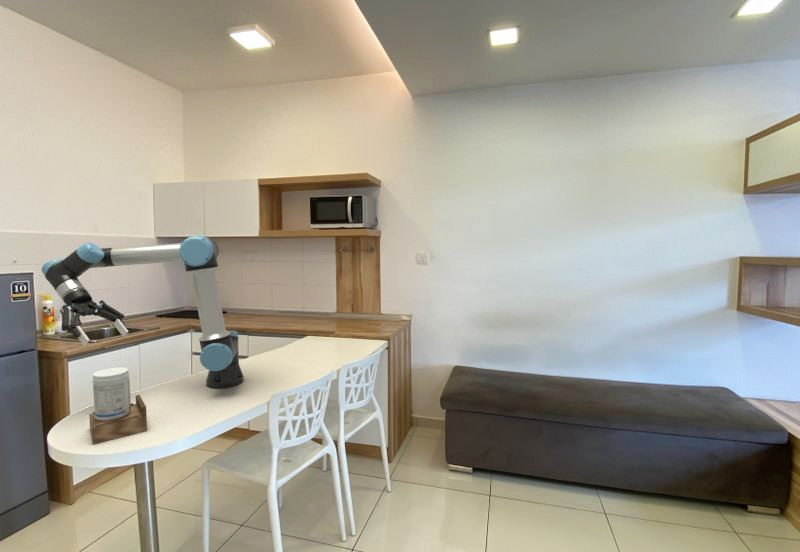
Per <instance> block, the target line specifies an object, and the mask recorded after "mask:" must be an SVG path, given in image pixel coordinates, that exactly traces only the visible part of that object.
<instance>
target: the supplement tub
mask: <svg viewBox="0 0 800 552" xmlns="http://www.w3.org/2000/svg"><path fill="white" fill-rule="evenodd" d="M130 382H131V381H130V373H129V368H127V367H122V366H121V367H120V366H119V367H110V368H105V369H101V370H98V371H95V372H94V373H92V390H93V405H94V409H93V410H94V411H95V418H96V419H97V420H99V421H110V420H115V419H119V418H122V417H124V416H126V415H127V414H129V413H130V411H131V403H132V402H131V385H130Z"/></svg>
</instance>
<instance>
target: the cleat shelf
mask: <svg viewBox="0 0 800 552" xmlns="http://www.w3.org/2000/svg"><path fill="white" fill-rule="evenodd" d="M88 416H89V429H90V435H91V443H92V445H97V444H99V443H104V442H107V441H112V440H115V439H120V438H124V437H129V436H132V435H135V434H140V433H144V432H147V431H148V421H147V419H148V418H147V417H148V416H147V405H146V404H145V402H144V400H143V398H142V397H141V394H136V395H135V403H133V402H131V411H130V413H129V414H127V415H126V416H124V417H122V418H119V419H115V420H110V421H99V420H97V419H96V418H95V410H93V411H92V412H90V413H89V415H88Z"/></svg>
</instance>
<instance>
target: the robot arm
mask: <svg viewBox="0 0 800 552" xmlns="http://www.w3.org/2000/svg"><path fill="white" fill-rule="evenodd" d="M219 253H220V249H219V245H218V243H217V242H216V241H215V240H214V239H212V238H211V237H208V236H204V235H192V236H190V237H189V236H188V237H187V238H186V239H184V240H183V241H181V243H178V242H177V243H166V244H149V245H148V244H147V245H134V246H133V245H132V246H116V247H102V248H100V246H98V245H96V244H95V243H92V242H84V243H83V244H82V245H80V246H78V247H77V248H76V250H74V251H73V252H71V253H70V254H68V255H67V256H66V257H65V258H64V259H59V258H58V259H57V258H56V259H51V261H47V262H45V263H44V264H43V265H42V267H41V272H42V274H43V276H44V277H45V278H44V279H46V280H47V282H49V284H50V285H51V286H52V288H53V289H54V290H55V292H56V293H57V294H58V295H57V296H59V297H60V299H61V300H62V301H63V303H64V304H63V305H62V306H61V308H60V310H59V312H60V313H61V331H62V332H66V331H67V333H68V334H72V335H73V336H74V337H75V338H76V339H77V338H78V340H79V341H80V342H81V344H82V345H83V346H87V344H88V343H89V341H90V338H89V337H88V335H86V333H85V332H84V330H83V329H82V328H81V326H80V325H78V322H79V320H80V317H86V316H94V317H100V318H102V319H105V320H108V321H110V322H113V326H114V327H115V328H116V329H117V332H119V334H120V335H121V336H122V337H123V338H124V337H127V335H128V334H129V330H128V329H127V328H126V327H125V326H126V324H125V323H124V321H123V319H124V317H125V314H124V313H121V312H120V311H118V310H116V309H115V308H114V307H111V306H110V305H108V304H107V303H106V302H105V301H104V300H102V299H101V300H100V301H98V302H95V301H94V300H93V298H92V296H91V294H90V293H89V291H87V289H86V288H85V286H84V285H83V284H82V282H81V281H80V280H79V277H80V276H82V275H83V274H84V273H85V272H87V271H88V270H90V269H95V268H96V269H97V268H107V267H121V266H135V265H145V264H146V265H147V264H160V263H176V262H177V263H178V262H183V263H184V268H185V272H186V273H187V274H188V275H189V276H191V281H192V282H191V283H192V286H193V292H194V296H195V297H194V298H195V302H196V307H197V311H198V317H199V322H200V328H201V333H202V334H201V336H200V338H199V340H198V341H199V345H200V353H199V354H200V355H199V361H200V364H201V365H202V366H203V368H204V369H206V370H207V371H208V373H207V377H206V380H205V384H206V385H205V386H206V387H208V388H210V389H225V388H232V387H235V386H238V385H240V384H242V383H243V382H244V374H243V371H242V369H241V366H240V360H239V359H240V358H239V354H240V353H239V333H238V331H236V330H227V329H226V326H225V325H226V324H225V320H224V314H223V309H222V303H221V297H220V292H219V287H218V281H217V276H216V271H217V270H218V269H219V265H218V259H217V258H218V256H219ZM96 310H97V311H96ZM70 312H72V313H74V316H73V319H72V321H71V323H70Z"/></svg>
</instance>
